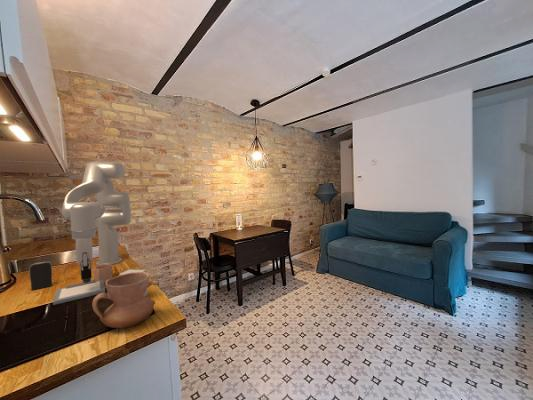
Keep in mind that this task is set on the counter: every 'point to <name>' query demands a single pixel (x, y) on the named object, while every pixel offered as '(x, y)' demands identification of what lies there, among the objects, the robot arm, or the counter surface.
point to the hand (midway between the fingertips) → (86, 276)
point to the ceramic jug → (126, 300)
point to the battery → (40, 275)
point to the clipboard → (79, 291)
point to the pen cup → (103, 272)
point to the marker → (89, 278)
